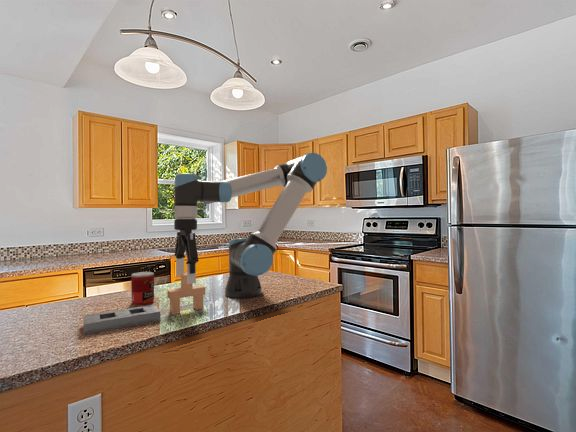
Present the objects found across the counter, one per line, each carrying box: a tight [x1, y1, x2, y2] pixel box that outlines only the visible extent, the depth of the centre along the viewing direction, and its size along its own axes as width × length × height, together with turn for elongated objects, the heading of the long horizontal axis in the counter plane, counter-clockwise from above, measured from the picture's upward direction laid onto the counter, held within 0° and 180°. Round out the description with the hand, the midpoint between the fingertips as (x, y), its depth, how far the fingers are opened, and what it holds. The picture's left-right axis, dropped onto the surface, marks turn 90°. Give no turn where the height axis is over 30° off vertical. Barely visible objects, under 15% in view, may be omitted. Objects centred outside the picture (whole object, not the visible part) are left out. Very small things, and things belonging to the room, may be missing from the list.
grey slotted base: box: [83, 303, 161, 336], centre depth 96 cm, size 20×9×3 cm, turn 124°
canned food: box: [130, 271, 155, 306], centre depth 118 cm, size 8×8×11 cm
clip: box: [166, 272, 206, 315], centre depth 109 cm, size 12×4×12 cm, turn 124°
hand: (185, 279), depth 108 cm, fingers open, 13 cm apart
